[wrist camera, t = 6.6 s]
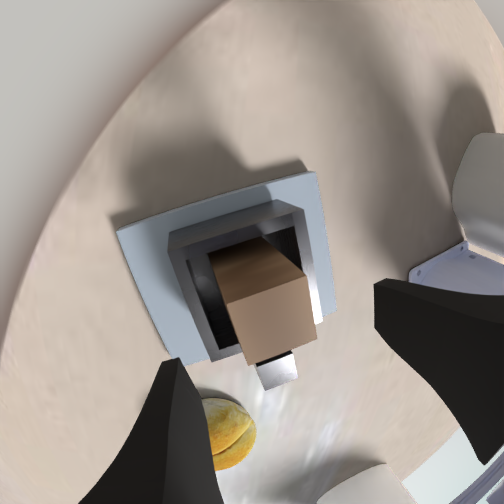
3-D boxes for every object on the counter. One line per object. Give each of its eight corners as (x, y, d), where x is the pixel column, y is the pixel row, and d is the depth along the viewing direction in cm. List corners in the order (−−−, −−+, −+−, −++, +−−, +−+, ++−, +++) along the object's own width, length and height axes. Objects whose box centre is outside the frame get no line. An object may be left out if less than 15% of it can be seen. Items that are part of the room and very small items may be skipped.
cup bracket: (274, 198, 16) (308, 210, 12) (300, 325, 20) (330, 363, 15) (169, 230, 15) (167, 255, 11) (216, 356, 18) (229, 402, 14)
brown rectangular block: (259, 234, 16) (306, 275, 10) (271, 282, 17) (317, 338, 11) (206, 252, 15) (226, 304, 10) (222, 299, 16) (248, 365, 11)
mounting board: (308, 171, 17) (315, 171, 16) (330, 304, 21) (336, 310, 20) (119, 227, 15) (116, 231, 14) (176, 359, 19) (177, 368, 18)
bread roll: (186, 457, 23) (191, 488, 19) (145, 409, 20) (145, 445, 16) (261, 436, 24) (273, 466, 21) (237, 383, 21) (250, 419, 18)
